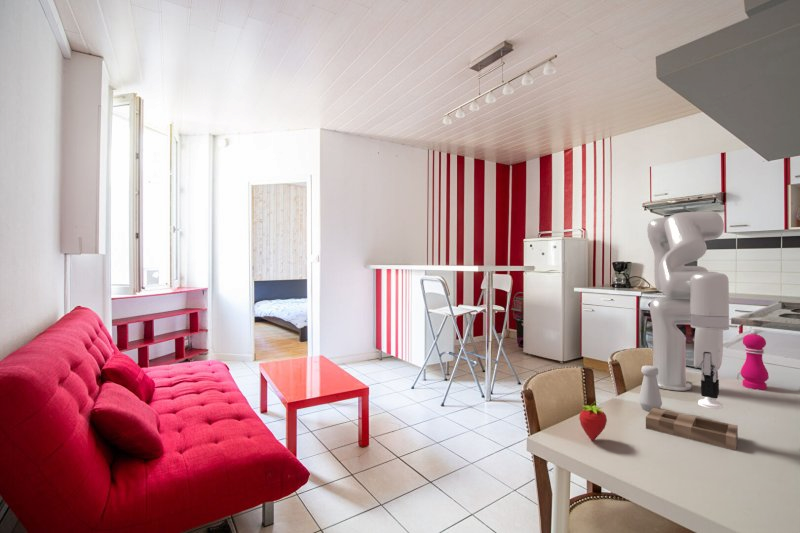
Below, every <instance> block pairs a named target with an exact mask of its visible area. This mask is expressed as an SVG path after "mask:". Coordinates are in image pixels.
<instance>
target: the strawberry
mask: <svg viewBox="0 0 800 533" xmlns="http://www.w3.org/2000/svg"><path fill="white" fill-rule="evenodd" d="M596 402H597V401H593V404H594V405H589V404H588V405H582V407H583V408H582V409H581V411H580V413H579V417H578V419H579V421H580V426H581V428H582V430H583V431H584V433H585V435H587V437H588V438H589V439H590V440H591V441H596V439H597V438H598V436H600V434H602V432H603V431H604V430H605V428H606V426H607V422H608V420H607V415H606V413H605V412H604V411H603V410H601V409H602V407H599V406H596V404H595V403H596Z"/></svg>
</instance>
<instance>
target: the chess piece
mask: <svg viewBox="0 0 800 533" xmlns="http://www.w3.org/2000/svg"><path fill="white" fill-rule="evenodd" d="M711 369H712V368H711ZM697 404H698V405H699V406H701V407H703V408H707V409H712V410H713V409H714V410H722V409H724V406H723V403H721V402H720V401H718V400H717V398H716V399H715V398H710V397H704V398H702V399H701V398H700V399H698V402H697Z"/></svg>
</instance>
